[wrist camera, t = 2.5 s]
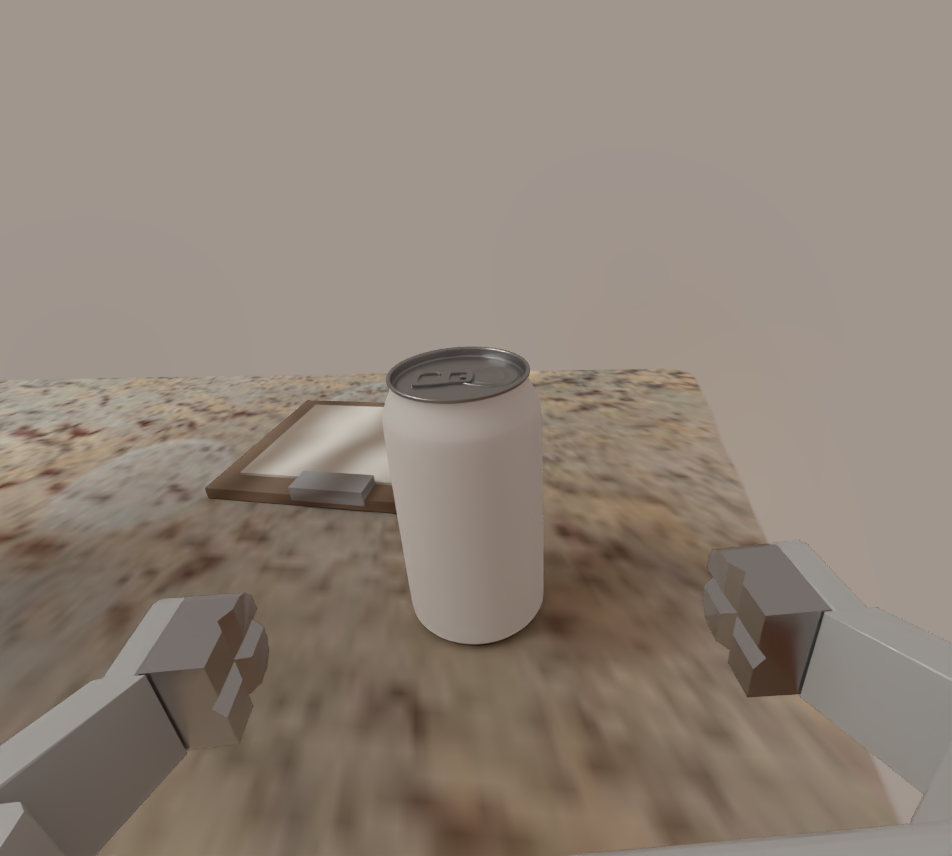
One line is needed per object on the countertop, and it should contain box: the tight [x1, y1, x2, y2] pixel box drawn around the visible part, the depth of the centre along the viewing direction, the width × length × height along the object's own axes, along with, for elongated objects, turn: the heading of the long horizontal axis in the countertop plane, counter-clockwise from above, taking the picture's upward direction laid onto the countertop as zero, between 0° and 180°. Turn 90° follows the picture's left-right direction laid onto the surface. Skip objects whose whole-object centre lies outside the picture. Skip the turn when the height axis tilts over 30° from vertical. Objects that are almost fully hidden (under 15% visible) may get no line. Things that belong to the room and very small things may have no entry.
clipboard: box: [205, 400, 397, 513], centre depth 39 cm, size 18×14×2 cm
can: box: [382, 347, 544, 645], centre depth 23 cm, size 6×6×12 cm
